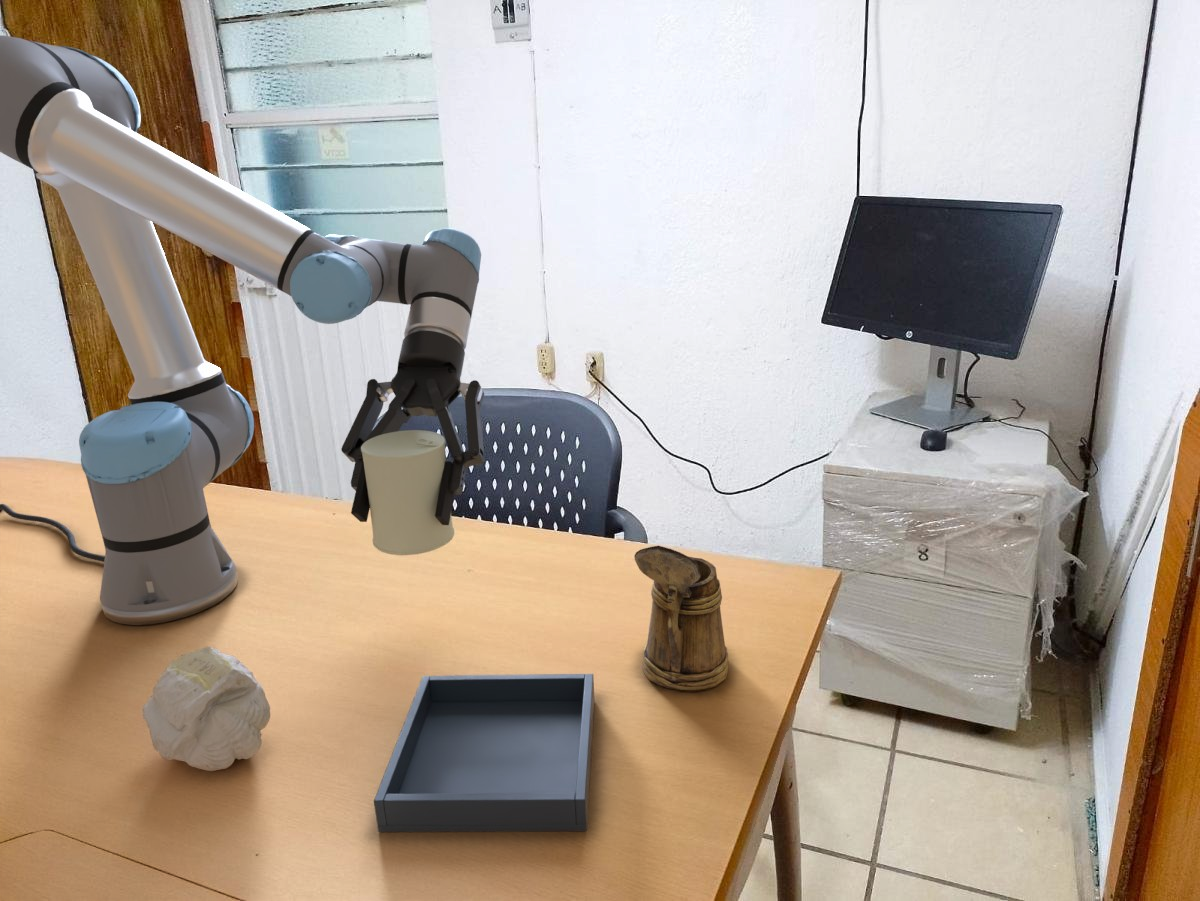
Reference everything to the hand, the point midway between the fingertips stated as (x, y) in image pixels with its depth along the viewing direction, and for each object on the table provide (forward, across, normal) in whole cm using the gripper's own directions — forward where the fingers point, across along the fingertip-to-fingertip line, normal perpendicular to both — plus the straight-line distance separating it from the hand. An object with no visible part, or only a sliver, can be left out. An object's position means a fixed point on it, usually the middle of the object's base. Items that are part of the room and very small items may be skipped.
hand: (400, 519), depth 91 cm
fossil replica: (+25, +11, +6) cm, 28 cm away
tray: (+24, -16, +6) cm, 30 cm away
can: (+1, 0, -5) cm, 5 cm away
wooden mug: (+15, -31, -4) cm, 35 cm away
